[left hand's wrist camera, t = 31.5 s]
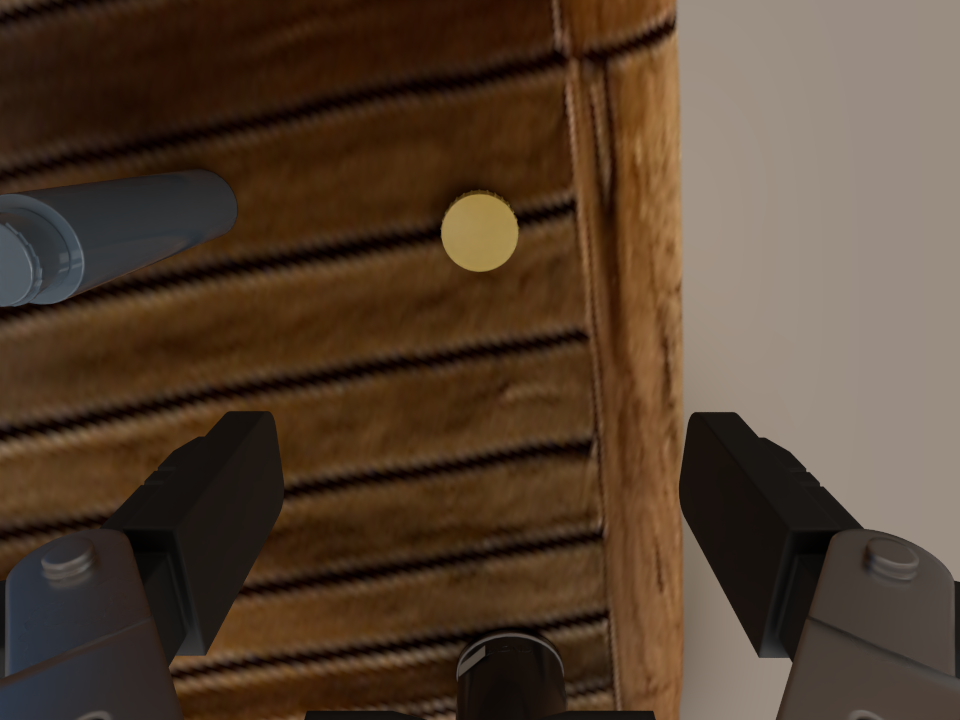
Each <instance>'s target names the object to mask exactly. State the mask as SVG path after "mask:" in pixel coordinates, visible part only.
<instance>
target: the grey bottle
mask: <svg viewBox="0 0 960 720" xmlns="http://www.w3.org/2000/svg"><path fill="white" fill-rule="evenodd" d="M236 217H237V202H236V199H235V196H234V193H233V191H232V190H231V188H230V187H229V185H228V184H227V183H226V182H225V181H224V180H223V179H222V178H221V177H219V176H218V175H216V174H215V173H213V172H210V171H208V170H203V169H190V170H182V171H175V172H167V173H160V174H152V175H145V176H137V177H130V178H122V179H115V180H107V181H99V182H92V183H84V184H77V185H69V186H62V187H54V188H47V189H39V190H32V191H24V192H17V193H9V194H3V195H0V307H3V306H14V307H15V306H18V305H22V304H26V303H28V302H30V303H35V304H52V303H57V302H60V301H63V300H65V299H68V298H70V297H72V296H75V295H77V294H80V293H82V292H85V291H87V290H90V289H92V288H95V287H97V286H100V285H102V284H104V283H107V282H109V281H112V280H114V279H117V278H119V277H122V276H124V275H127V274H129V273H132V272H134V271H136V270H139V269H141V268H144V267H146V266H149V265H151V264H154V263H156V262H159V261H161V260H164V259H166V258H168V257H171V256H173V255H176V254H178V253H181V252H183V251H186V250H188V249H191V248H193V247H196V246H198V245H200V244H203V243H205V242H208V241H210V240H213V239H215V238H218V237H220V236H222V235H224V234H226V233H227V232H228V231H229V230H230V229H231V228H232V226H233V225H234V223H235V220H236Z"/></svg>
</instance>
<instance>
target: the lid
mask: <svg viewBox="0 0 960 720" xmlns="http://www.w3.org/2000/svg"><path fill="white" fill-rule="evenodd" d="M513 213H514V211H513V208H510V205H509V203H508V201H507V202H506V201H505V200H504V199H503V197H502V196H501V197H500V196H498V195H497V194H496V193H495V192H494V193H492V192H489V191H488V190H486V191H483V190H480V189H478V190H477V191H472V190H471V191H470V192H468V193H463V195H461V196H460V197H456V200H455V201H454V202H453V203H452V202H451V203H450V206H449V209H447V210H446V212H445V214H446V215H445V216H444V217H443V219H442V222H443V224H442V226H441V238H442V242H443V246H444V248H445V250H446V253H447V254H448V255H449V257H450V258H451V259H452V260H453V261H454V262H455V263H456V264H458V265H459V266H461V267H463V268H465V269H467V270H471V271H477V272H483V271H489V270H492V269H495V268H497V267H499V266H501V265H502V264H503V263H505V262H506V261H507V260H508V259H509V257H510V256H511V255H512V253H513V252H514V249H515V247H516V245H517V240H518V237H519V234H518V229H519V226H518V224H517V218H516V215H514V214H513Z"/></svg>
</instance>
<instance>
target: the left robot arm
mask: <svg viewBox="0 0 960 720" xmlns="http://www.w3.org/2000/svg"><path fill="white" fill-rule="evenodd" d="M283 498H284V480H283V473H282V466H281V459H280V452H279V446H278V439H277V432H276V425H275V421H274V418H273V415H272V414H271V413H270V412H268V411H229V412H227V413H226V414H225V415H224V416H223V417H222V418H221V419H220V420H219V421H218V423H217V424H216V425H215V426H214V427H213V428H212V429H211V430H210V431H209V433H208V434H207V435H206V436H205V437H197V438H195V439H194V440H192V441H190V442H188V443H187V444H185V445H183V446H181V447H180V448H178V449H176V450H175V451H173V452H172V453H171V454H170V455H169V456H168V458H167V459H166V460H165V461H164V462H163V463H162V464H161V465H160V466H159V467H158V471H154V472H153V473H152V474H151V475H150V476H149V477H148V478H147V479H146V480H145V483H144V485H141V486H140V487H139V488H138V489H137V490H136V491H135V492H134V493H133V494H132V495H131V496H130V497H129V498H128V499H127V500H126V501H125V502H124V503H123V505H122V506H121V507H120V508H119V509H118V510H117V511H116V512H115V513H114V514H113V515H112V516H111V517H110V518H109V519H108V520H107V521H106V522H105V523H104V524H103V525H102V526H101V528H100V529H91V530H85V531H80V532H76V533H72V534H69V535H66V536H63V537H60V538H57V539H55V540H53V541H51V542H48V543H46V544H44V545H43V546H41V547H39V548H37V549H36V550H34V551H33V552H31V553H29V554H28V555H27V556H25V557H24V558H23V559H22V560H20V561H19V562H18V563H17V564H16V565H15V566H14V568H13V569H12V570H11V572H10V573H9V575H8V577H7V579H6V580H3V581H0V720H184V717H183V714H182V711H181V707H180V704H179V701H178V697H177V694H176V691H175V687H174V684H173V681H172V677H171V674H170V671H169V665H170V664H171V662H172V660H173V659H174V657H175V656H206V654H207V652H208V650H209V648H210V646H211V644H212V642H213V640H214V638H215V636H216V635H217V633H218V631H219V629H220V627H221V625H222V623H223V621H224V619H225V617H226V615H227V614H228V612H229V610H230V608H231V606H232V604H233V602H234V600H235V598H236V596H237V594H238V592H239V591H240V589H241V587H242V585H243V583H244V581H245V579H246V577H247V575H248V573H249V571H250V570H251V568H252V566H253V564H254V562H255V560H256V558H257V556H258V554H259V552H260V550H261V549H262V547H263V545H264V543H265V541H266V539H267V537H268V535H269V533H270V531H271V529H272V528H273V526H274V524H275V522H276V520H277V518H278V516H279V514H280V511H281V508H282V504H283ZM679 499H680V505H681V509H682V512H683V515H684V517H685V519H686V521H687V523H688V525H689V526H690V528H691V530H692V532H693V534H694V536H695V538H696V540H697V542H698V543H699V545H700V547H701V549H702V551H703V553H704V555H705V557H706V558H707V560H708V562H709V564H710V566H711V568H712V570H713V572H714V574H715V575H716V577H717V579H718V581H719V583H720V585H721V587H722V589H723V591H724V593H725V594H726V596H727V598H728V600H729V602H730V604H731V606H732V608H733V610H734V611H735V613H736V615H737V617H738V619H739V621H740V623H741V625H742V627H743V628H744V630H745V632H746V634H747V636H748V638H749V640H750V642H751V644H752V645H753V647H754V649H755V651H756V653H757V655H758V657H759V658H790V659H791V661H792V663H793V664H792V667H791V671H790V674H789V678H788V681H787V684H786V687H785V691H784V694H783V697H782V701H781V704H780V707H779V711H778V714H777V717H776V720H960V582H957V581H954V579H953V577H952V575H951V573H950V572H949V570H948V569H947V568H946V566H945V565H944V564H943V563H942V562H941V561H939V560H938V559H937V558H936V557H934V556H933V555H932V554H931V553H929V552H927V551H926V550H924V549H923V548H921V547H919V546H917V545H915V544H914V543H912V542H909V541H907V540H905V539H903V538H900V537H897V536H894V535H891V534H888V533H884V532H880V531H875V530H869V529H864V528H863V527H862V526H861V525H860V524H859V523H858V522H857V521H856V520H855V519H854V518H853V517H852V516H851V515H850V514H849V513H848V512H847V511H846V509H845V508H844V507H843V506H842V505H841V504H840V503H839V502H838V501H837V500H836V499H835V498H834V497H833V496H832V495H831V494H830V493H829V492H828V491H827V490H826V489H825V488H824V487H820V483H819V481H818V480H817V479H816V478H815V477H814V476H813V475H812V474H811V473H810V472H806V468H805V467H804V466H803V465H802V464H801V463H800V462H799V461H798V460H797V459H796V458H795V457H794V456H793V455H792V454H791V453H790V452H789V451H787V450H786V449H784V448H782V447H780V446H779V445H777V444H775V443H773V442H772V441H770V440H768V439H767V438H759V437H758V436H757V435H756V434H755V433H754V432H753V430H752V429H751V428H750V427H749V426H748V425H747V424H746V423H745V422H744V421H743V419H742V418H741V417H740V416H739V415H738V414H737V413H735V412H695V413H693V414H692V415H691V417H690V419H689V422H688V427H687V434H686V440H685V447H684V454H683V460H682V467H681V474H680V481H679ZM304 720H425V719H422V718H418V717H414V716H410V715H406V714H402V713H398V712H395V711H307V713H306V716H305V719H304ZM456 720H656V719H655V716H654V713H653V711H568V704H567V697H566V691H565V684H564V670H563V663H562V659H561V656H560V654H559V652H558V651H557V649H556V648H555V647H554V646H553V645H552V644H551V643H550V642H549V641H548V640H546V639H545V638H543V637H541V636H539V635H537V634H534V633H531V632H528V631H523V630H513V629H509V630H499V631H494V632H490V633H487V634H485V635H482V636H480V637H478V638H477V639H475V640H474V641H472V642H471V643H470V644H469V645H468V646H467V647H466V648H465V649H464V650H463V652H462V653H461V655H460V657H459V660H458V663H457V705H456Z"/></svg>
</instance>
